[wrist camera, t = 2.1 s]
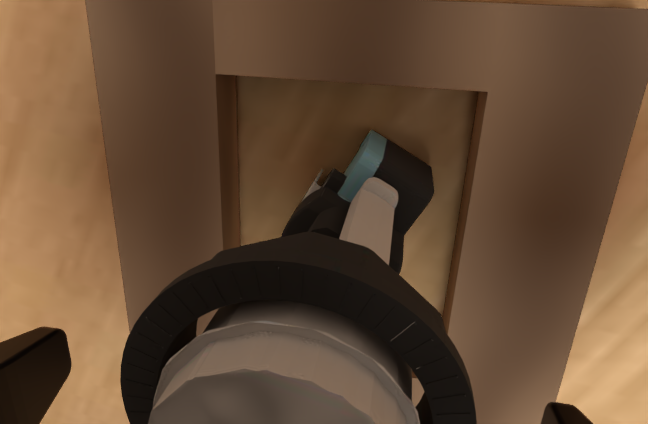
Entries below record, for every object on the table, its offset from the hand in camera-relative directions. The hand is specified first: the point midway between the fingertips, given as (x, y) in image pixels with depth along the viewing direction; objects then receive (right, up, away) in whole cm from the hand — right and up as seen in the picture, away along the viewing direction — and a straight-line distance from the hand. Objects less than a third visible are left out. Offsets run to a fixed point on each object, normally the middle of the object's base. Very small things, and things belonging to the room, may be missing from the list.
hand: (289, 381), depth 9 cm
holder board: (+1, +3, +7) cm, 7 cm away
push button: (+1, +3, +7) cm, 8 cm away
